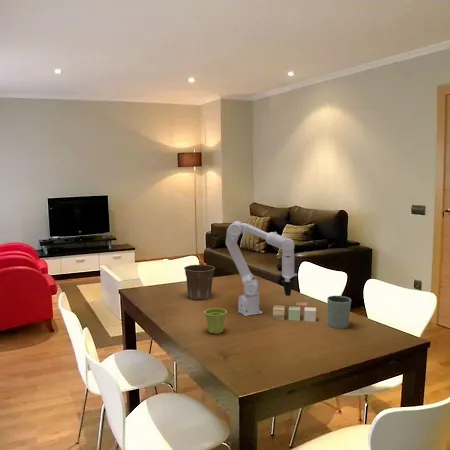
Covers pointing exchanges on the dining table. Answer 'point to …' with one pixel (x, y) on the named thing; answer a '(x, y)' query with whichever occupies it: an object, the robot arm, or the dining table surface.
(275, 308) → the maple block
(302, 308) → the terracotta block
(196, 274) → the plant pot
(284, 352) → the dining table surface
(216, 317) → the plant pot
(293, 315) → the sage block
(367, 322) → the dining table surface
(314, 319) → the offwhite block
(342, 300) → the blue-grey tapered cup
